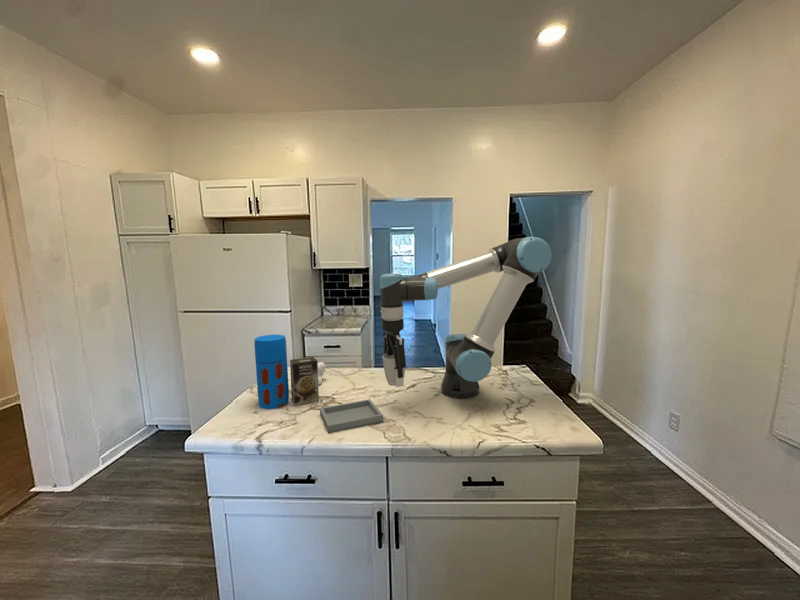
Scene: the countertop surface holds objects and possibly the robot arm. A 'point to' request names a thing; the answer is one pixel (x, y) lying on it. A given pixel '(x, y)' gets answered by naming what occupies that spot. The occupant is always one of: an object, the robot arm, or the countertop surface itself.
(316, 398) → the coffee box
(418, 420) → the countertop surface
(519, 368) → the countertop surface
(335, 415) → the tray
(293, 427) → the countertop surface
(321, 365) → the white decorative knot
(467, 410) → the countertop surface
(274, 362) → the thermos
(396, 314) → the robot arm
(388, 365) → the cup
